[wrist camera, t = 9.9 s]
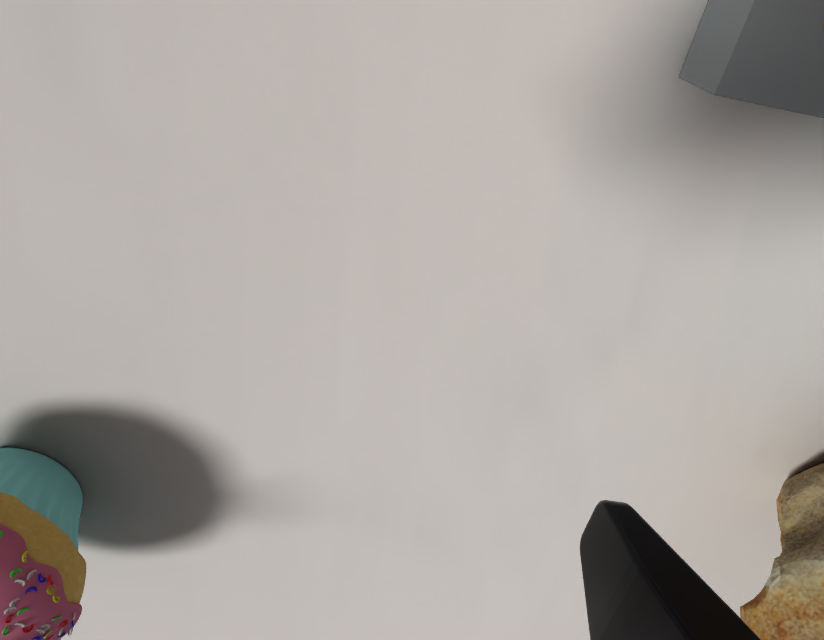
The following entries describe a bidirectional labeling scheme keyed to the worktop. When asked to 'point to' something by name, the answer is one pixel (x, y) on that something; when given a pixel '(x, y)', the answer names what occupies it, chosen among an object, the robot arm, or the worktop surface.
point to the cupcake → (38, 547)
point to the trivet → (761, 53)
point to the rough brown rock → (794, 566)
